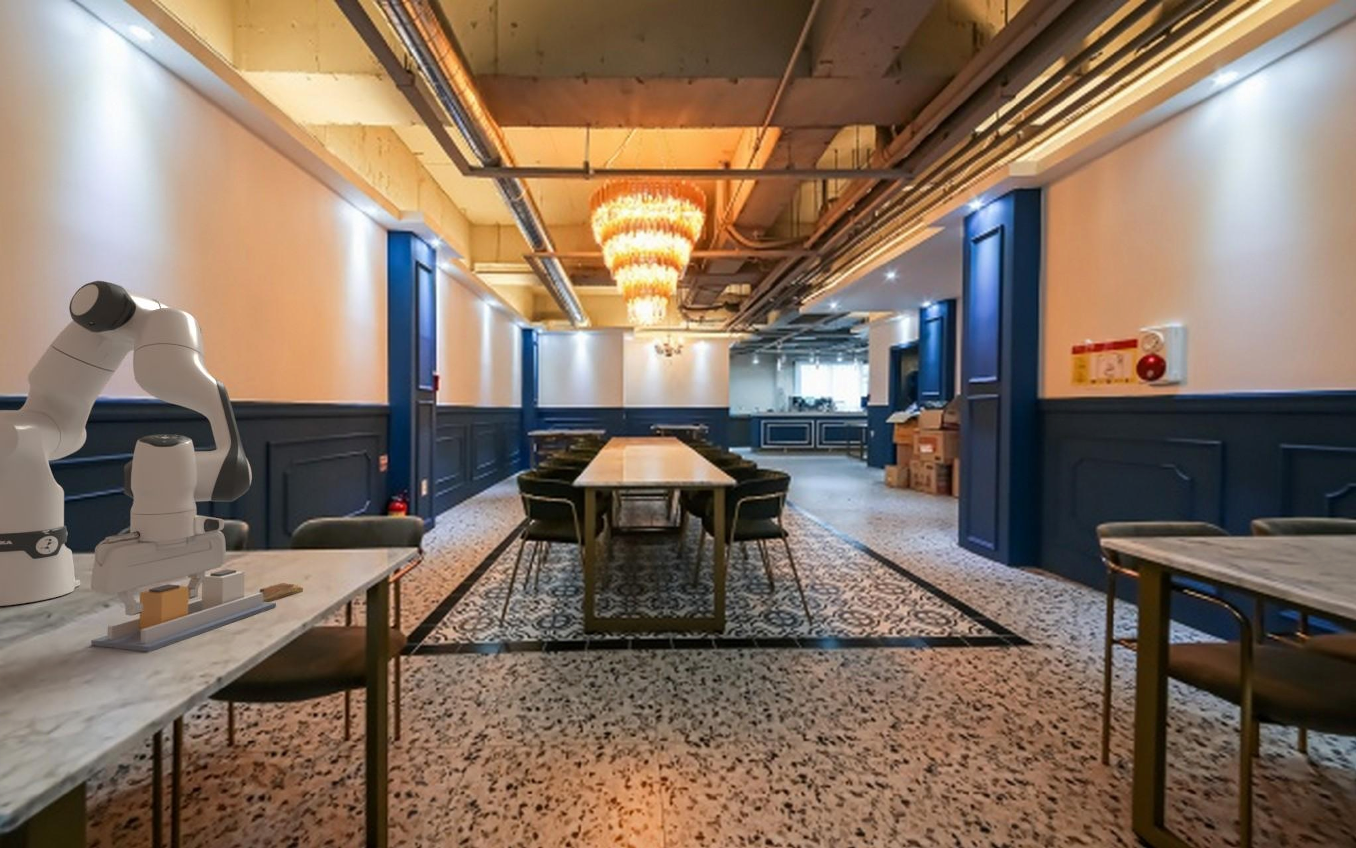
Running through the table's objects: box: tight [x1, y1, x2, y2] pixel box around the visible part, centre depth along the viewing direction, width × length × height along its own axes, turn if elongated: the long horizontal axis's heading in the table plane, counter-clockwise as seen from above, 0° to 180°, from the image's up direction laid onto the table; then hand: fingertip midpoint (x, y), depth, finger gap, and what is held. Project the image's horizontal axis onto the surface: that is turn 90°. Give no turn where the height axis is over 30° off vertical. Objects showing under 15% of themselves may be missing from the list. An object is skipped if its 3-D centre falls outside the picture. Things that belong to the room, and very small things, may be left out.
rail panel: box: [90, 569, 277, 653], centre depth 110 cm, size 12×24×8 cm, turn 168°
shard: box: [258, 582, 304, 603], centre depth 128 cm, size 11×8×2 cm
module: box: [139, 583, 189, 633], centre depth 106 cm, size 5×4×7 cm
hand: (163, 605), depth 106 cm, fingers open, 8 cm apart
